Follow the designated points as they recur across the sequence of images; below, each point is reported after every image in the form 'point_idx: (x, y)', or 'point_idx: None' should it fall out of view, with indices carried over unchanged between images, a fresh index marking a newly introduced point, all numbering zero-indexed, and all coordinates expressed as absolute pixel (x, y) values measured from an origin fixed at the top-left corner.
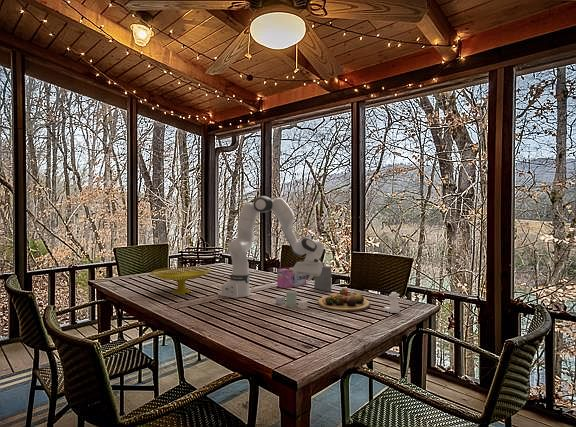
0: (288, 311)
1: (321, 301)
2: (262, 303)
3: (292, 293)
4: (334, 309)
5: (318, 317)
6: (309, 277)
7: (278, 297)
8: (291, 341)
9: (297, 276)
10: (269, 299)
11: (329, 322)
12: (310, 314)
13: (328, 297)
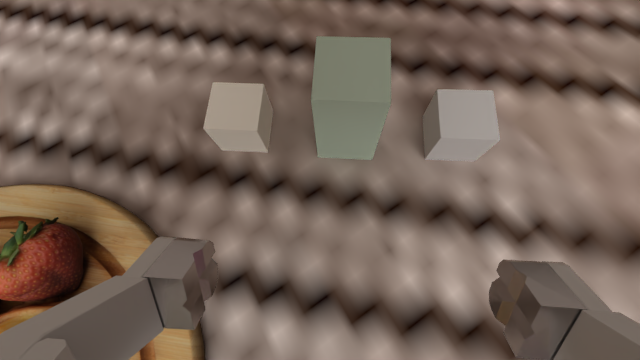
0: (288, 29)
1: None
2: (537, 66)
3: (316, 44)
4: (17, 185)
5: (95, 35)
6: (131, 274)
7: (467, 92)
8: None
9: (524, 300)
10: (593, 173)
11: (24, 6)
12: (152, 51)
13: (15, 251)
